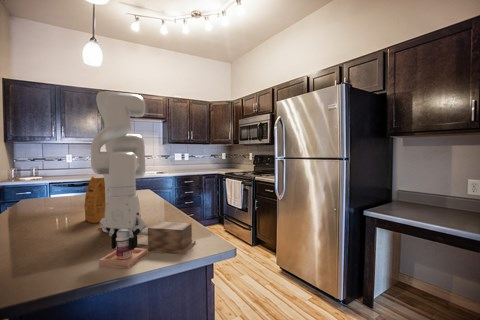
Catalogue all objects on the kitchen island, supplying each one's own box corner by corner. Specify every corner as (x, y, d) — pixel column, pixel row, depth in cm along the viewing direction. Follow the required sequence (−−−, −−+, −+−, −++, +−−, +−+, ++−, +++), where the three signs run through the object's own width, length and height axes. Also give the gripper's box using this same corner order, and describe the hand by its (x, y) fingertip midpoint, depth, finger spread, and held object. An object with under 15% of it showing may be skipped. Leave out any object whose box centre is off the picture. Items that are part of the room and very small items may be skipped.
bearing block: (125, 249, 84) (125, 227, 84) (142, 239, 94) (142, 219, 94) (184, 254, 80) (183, 231, 79) (195, 243, 89) (195, 222, 89)
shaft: (128, 239, 87) (127, 226, 87) (136, 234, 91) (136, 222, 91) (160, 241, 84) (160, 228, 84) (167, 237, 89) (167, 224, 89)
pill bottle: (120, 254, 78) (119, 228, 78) (135, 253, 79) (134, 227, 79) (113, 260, 74) (112, 233, 74) (129, 259, 74) (128, 232, 74)
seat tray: (99, 265, 72) (98, 259, 72) (121, 251, 82) (121, 246, 82) (128, 268, 70) (128, 262, 70) (148, 254, 80) (147, 248, 80)
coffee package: (102, 215, 129) (101, 175, 128) (113, 219, 122) (112, 176, 121) (81, 220, 121) (80, 177, 120) (92, 224, 114) (90, 178, 113)
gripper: (90, 192, 74) (92, 250, 74) (139, 194, 70) (141, 255, 71) (108, 188, 81) (109, 241, 82) (154, 190, 77) (155, 245, 78)
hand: (124, 247), depth 76 cm, fingers open, 5 cm apart
